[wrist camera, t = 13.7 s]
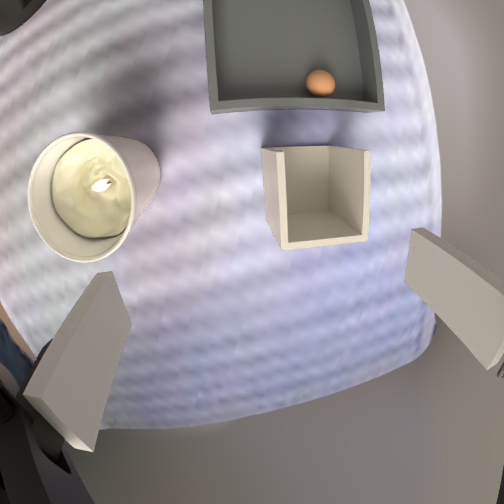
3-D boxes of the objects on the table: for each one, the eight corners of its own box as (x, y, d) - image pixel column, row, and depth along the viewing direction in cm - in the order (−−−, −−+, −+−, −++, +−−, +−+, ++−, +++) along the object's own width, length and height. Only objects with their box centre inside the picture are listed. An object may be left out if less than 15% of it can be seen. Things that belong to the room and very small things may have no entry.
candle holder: (186, 176, 28) (163, 200, 17) (127, 234, 30) (85, 285, 19) (128, 113, 25) (75, 104, 14) (74, 177, 27) (11, 202, 16)
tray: (203, -18, 19) (202, -34, 15) (349, -10, 20) (363, -22, 17) (212, 114, 26) (210, 110, 22) (367, 112, 27) (384, 111, 24)
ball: (295, 84, 24) (312, 84, 26) (314, 103, 24) (330, 101, 25) (309, 63, 22) (326, 65, 23) (330, 82, 21) (345, 83, 23)
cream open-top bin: (260, 148, 28) (276, 152, 20) (331, 145, 29) (370, 150, 20) (265, 219, 31) (281, 250, 23) (332, 213, 32) (367, 240, 24)
